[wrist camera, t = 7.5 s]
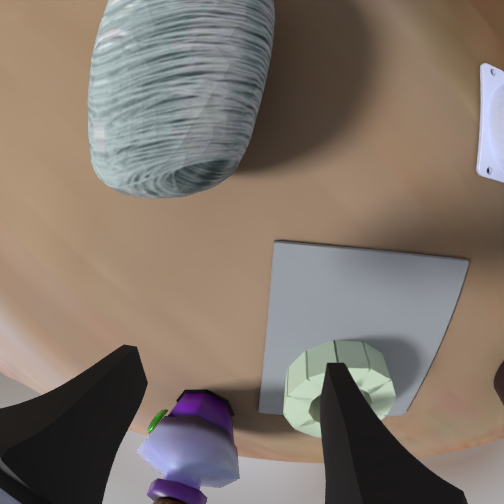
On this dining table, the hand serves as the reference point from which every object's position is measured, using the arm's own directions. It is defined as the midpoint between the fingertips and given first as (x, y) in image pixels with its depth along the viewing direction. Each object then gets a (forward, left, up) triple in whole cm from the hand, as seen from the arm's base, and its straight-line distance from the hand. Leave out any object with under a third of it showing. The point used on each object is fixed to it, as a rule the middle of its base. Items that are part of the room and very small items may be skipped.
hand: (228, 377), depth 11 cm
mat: (-8, +6, -10) cm, 14 cm away
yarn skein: (+4, -12, -10) cm, 16 cm away
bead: (-7, +9, -10) cm, 15 cm away
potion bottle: (+4, +15, -10) cm, 19 cm away
